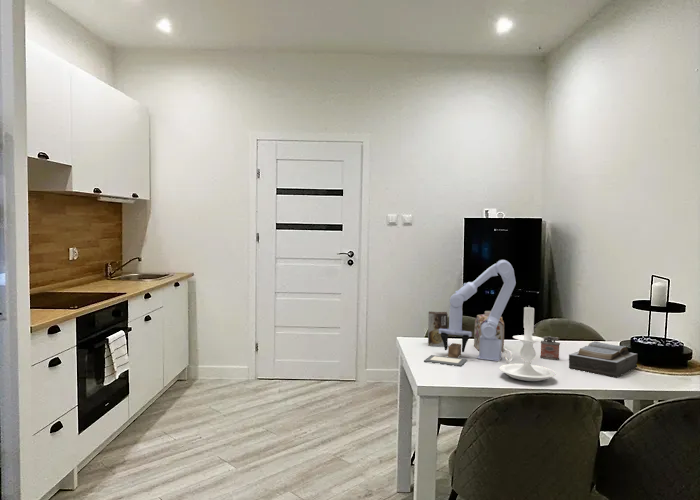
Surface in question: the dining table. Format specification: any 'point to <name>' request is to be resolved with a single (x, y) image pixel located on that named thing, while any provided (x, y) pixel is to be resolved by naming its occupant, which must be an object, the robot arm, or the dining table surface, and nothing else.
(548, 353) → the lighter
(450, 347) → the card box
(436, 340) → the coffee box
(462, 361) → the picture frame
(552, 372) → the candlestick
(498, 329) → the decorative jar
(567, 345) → the dining table surface
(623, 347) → the bible
